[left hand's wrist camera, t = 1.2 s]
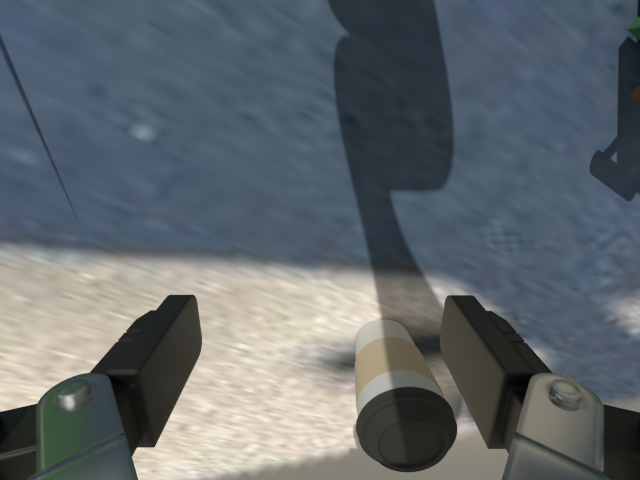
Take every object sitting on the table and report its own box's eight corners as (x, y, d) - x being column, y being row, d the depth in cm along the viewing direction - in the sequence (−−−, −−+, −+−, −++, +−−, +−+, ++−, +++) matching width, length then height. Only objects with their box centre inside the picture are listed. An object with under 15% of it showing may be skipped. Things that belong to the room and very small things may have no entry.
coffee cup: (410, 374, 46) (450, 490, 32) (342, 368, 46) (352, 482, 32) (425, 314, 43) (476, 414, 29) (351, 307, 43) (367, 405, 28)
